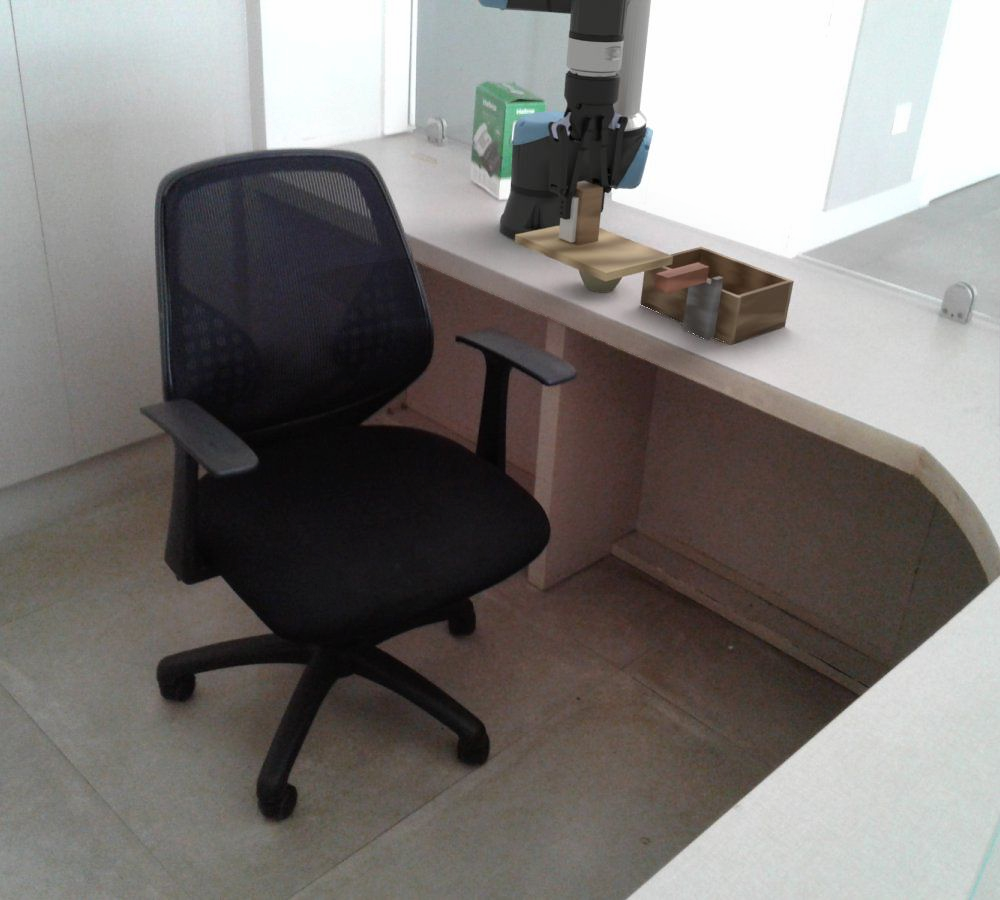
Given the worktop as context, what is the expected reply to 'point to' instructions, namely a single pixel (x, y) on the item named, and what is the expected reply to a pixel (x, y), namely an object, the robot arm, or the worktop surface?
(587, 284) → the flower pot
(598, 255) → the wooden block with peg
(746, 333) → the brown wooden box
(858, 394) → the worktop surface
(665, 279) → the reddish brown rectangular block
